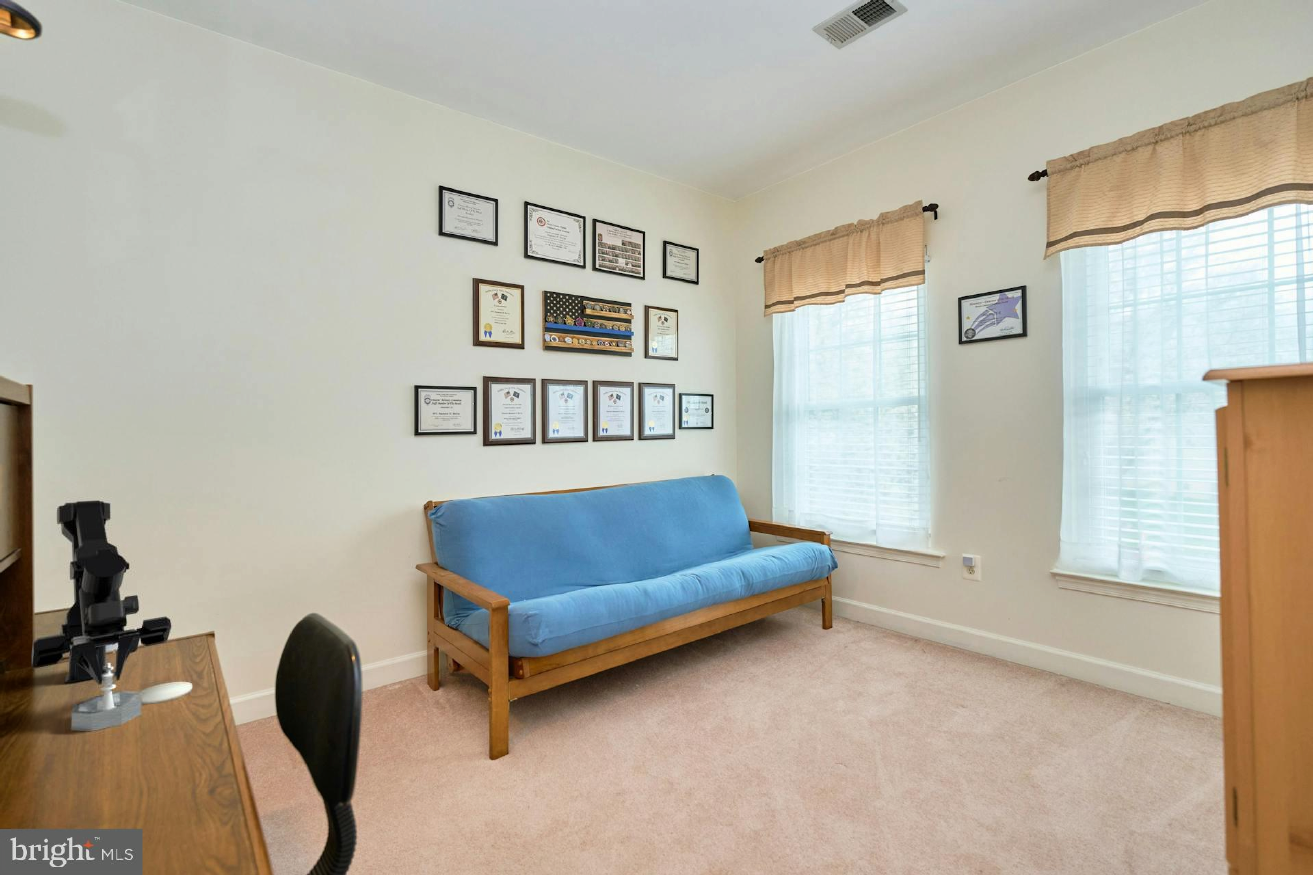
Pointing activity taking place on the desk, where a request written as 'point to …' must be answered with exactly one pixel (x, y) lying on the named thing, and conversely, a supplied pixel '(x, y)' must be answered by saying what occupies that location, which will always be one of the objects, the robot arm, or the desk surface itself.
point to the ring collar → (106, 711)
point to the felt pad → (165, 692)
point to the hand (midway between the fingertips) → (109, 681)
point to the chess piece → (108, 687)
